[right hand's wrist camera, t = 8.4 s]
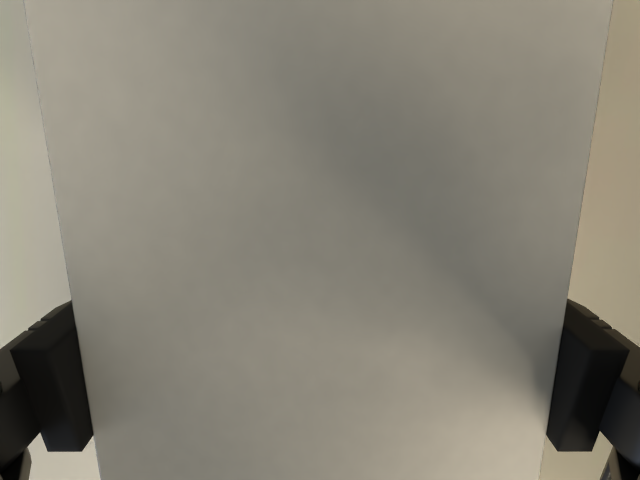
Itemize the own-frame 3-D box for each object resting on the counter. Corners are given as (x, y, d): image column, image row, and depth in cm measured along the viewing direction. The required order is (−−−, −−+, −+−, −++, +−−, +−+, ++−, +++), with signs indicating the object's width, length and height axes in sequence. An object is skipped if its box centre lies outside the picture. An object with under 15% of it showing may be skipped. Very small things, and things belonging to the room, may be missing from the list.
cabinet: (181, -72, 13) (-57, -481, 5) (455, -73, 13) (690, -484, 5) (211, 331, 17) (102, 497, 8) (428, 330, 17) (537, 495, 8)
